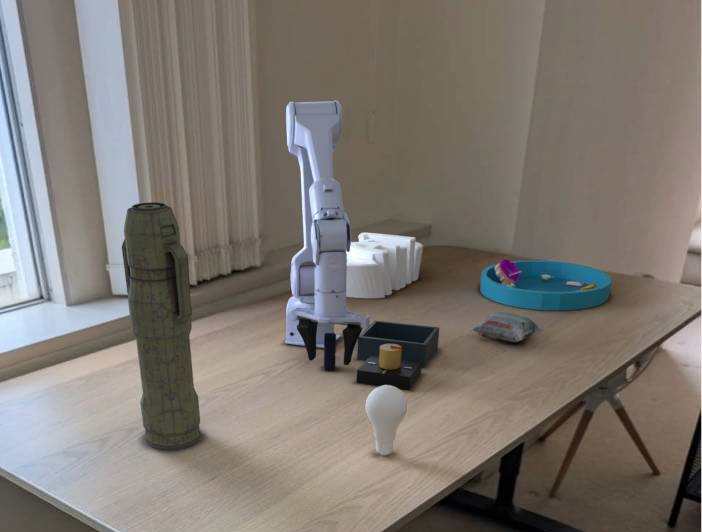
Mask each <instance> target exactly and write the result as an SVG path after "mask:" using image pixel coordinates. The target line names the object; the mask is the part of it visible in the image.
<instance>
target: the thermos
mask: <svg viewBox="0 0 702 532" xmlns="http://www.w3.org/2000/svg"><path fill="white" fill-rule="evenodd" d="M123 235H124V239H123V242H122V245H121V254H122V260H123V261H122V262H123V268H124V276H125V285H126V293H127V303H128V311H129V319H130V329H131V333H132V334H133V336H134V338H135V342H136V349H137V357H138V365H139V366H138V367H139V373H140V380H141V382H140V383H141V390H142V394H141V398H140V401H139V402H140V409H141V410H140V412H141V420H142V426H143V428H144V431H145V442H146V443H147V445H148V446H150V447H151V448H154V449H158V450H165V451H173V450H174V451H175V450H181V449H186V448H188V447H192V446H194V445H195V444H197V443H198V442H199V441H200V439H201V430H200V424H201V413H200V412H201V411H200V403H199V402H200V401H199V395H198V393H197V391H196V389H195V384H194V371H193V361H192V349H191V339H190V337H191V336H190V335H191V331H192V315H193V309H192V302H191V284H190V269H189V268H190V266H189V256H188V254H187V252H186V250H185V248H184V246H183V245H182V244H181V236H180V226H179V223H178V220H177V218H176V215H175V213H174V210H173V208H172V207H171V206H169V205H167V204H166V203H164V202H155V201H153V202H140V203H136V204H132V206H131V207H129V208H127V210H126V214H125V220H124V227H123Z"/></svg>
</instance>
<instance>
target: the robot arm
mask: <svg viewBox="0 0 702 532" xmlns="http://www.w3.org/2000/svg"><path fill="white" fill-rule="evenodd" d="M343 117H344V116H343V107H342V104H341V103H340V102H339V100H336V99H335V100H333V101H300V102H294V101H289V102H288V104H287V105H286V109H285V126H286V128H285V129H286V144H287V147H288V152H289V154H292V155H294V156H296V157H297V161H298V164H299V165H298V166H299V169H300V186H301V187H300V188H301V209H302V229H303V231H302V232H303V248H301V249H300V250H299V251H298V252H297V253H296V254H295V255H294V256H293V257H292V259H291V261H290V288H291V294H292V296H290V298H289V299H288V301H287V304H286V308H285V309H286V310H285V316H286V317H285V320H286V321H285V324H286V325H285V328H286V329H285V331H286V333H285V335H286V340H285V341H284V343H285V344H287V345H295V346H302V347H305V349H306V353H307V359H308V361H311V362H313V361H314V360H315V359H316V358H317V348H319V349H324V335H325V333H335V325H339V326H346V327H345V328H344V329H343V330H342V338H343V352H344V353H343V365H344V366H349V365H350V363H352V357H353V354H354V350H355V346H356V344H357V343H358V337H359V335H360V334H361V333H362V332H363V330H365V329H366V328H367V327H368V326H369V325H370V319H371V318H370V317H371V316H370V315H367V314H362V313H358V312H354V311H350V310H347V297H346V276H347V254H346V251H347V252H349V251H350V247H351V242H352V228H351V227H352V226H351V221H350V219H349V216H348V213H347V212H345V207H344V200H343V191H342V186H341V184H340V182H339V181H337V180H336V179H334V157H333V155H334V154H333V153H334V152H335V151H336V150H337V147H338V145H339V141H340V137H341V135H342V132H343V122H344V121H343ZM309 263H313V264H309ZM335 334H336V342H337V341H338V340H340V338H341V334H337V333H335Z"/></svg>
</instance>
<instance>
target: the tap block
mask: <svg viewBox="0 0 702 532" xmlns="http://www.w3.org/2000/svg"><path fill="white" fill-rule="evenodd" d="M421 367H422V362H417V361H408V360H401V367H400V368H398V369H393V370H388V369H383V368H380V367H379V357H376V356H370V357H369V358H368V359H367V360H366V361H363V363H362V364H361V365H360V366H359V367H358V368H357V369H356V384H362V385H368V386H374V387H375V386H376V387H379V386H383V385H391V386H394V387H396V388H398V389H399V390H406V391H411V389H412V388H413V386H414V385H415V383H416V382H417V381H418V380H419V378H420V377H421V375H422V368H421Z"/></svg>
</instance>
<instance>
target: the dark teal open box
mask: <svg viewBox="0 0 702 532" xmlns="http://www.w3.org/2000/svg"><path fill="white" fill-rule="evenodd" d="M439 337H440V327H439V326H431V325H422V324H411V323H403V322H402V323H401V322H395V321H394V322H393V321H385V320H373V321H372V323H370V324H369V326H368V327H367V328H366V329H363V330H362V331H361V333H360V335H359V337H358V339H357V353H356V354H357V355H356V360H357V361H363V362H365V361H366V360H367V359H368V358H369V357H370V356H376V357H379V348H380V346H381V345H383V344H397V345H400V346H402V353H401V360H408V361H417V362H422V367H421V369H425V368H426V366H427V364H429V362H430V361H431V359H432V358H433V356H434V355H435V354H436V353H437V351H438V350H439Z"/></svg>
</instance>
